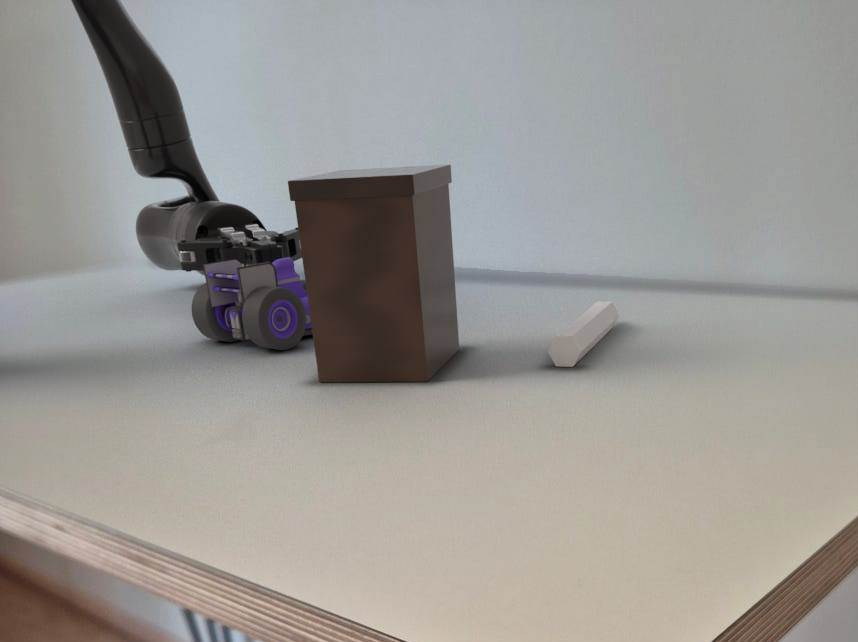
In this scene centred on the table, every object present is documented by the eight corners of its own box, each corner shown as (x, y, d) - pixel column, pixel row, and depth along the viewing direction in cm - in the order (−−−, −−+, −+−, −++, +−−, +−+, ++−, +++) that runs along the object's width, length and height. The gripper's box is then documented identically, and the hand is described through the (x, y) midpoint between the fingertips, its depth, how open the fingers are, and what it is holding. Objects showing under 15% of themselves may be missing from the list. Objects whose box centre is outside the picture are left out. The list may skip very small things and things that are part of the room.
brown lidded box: (311, 383, 68) (282, 181, 62) (357, 350, 77) (336, 170, 71) (429, 382, 67) (412, 174, 60) (462, 348, 75) (450, 164, 69)
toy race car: (398, 321, 87) (390, 244, 84) (264, 356, 77) (250, 270, 74) (329, 313, 93) (319, 240, 89) (196, 344, 83) (180, 264, 80)
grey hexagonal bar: (613, 330, 82) (568, 374, 69) (592, 317, 82) (543, 358, 69) (629, 302, 80) (586, 341, 67) (608, 289, 80) (560, 325, 67)
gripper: (147, 208, 94) (188, 218, 80) (277, 195, 99) (336, 203, 86) (163, 288, 98) (205, 312, 84) (288, 272, 103) (347, 292, 89)
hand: (271, 257), depth 85 cm, fingers closed
